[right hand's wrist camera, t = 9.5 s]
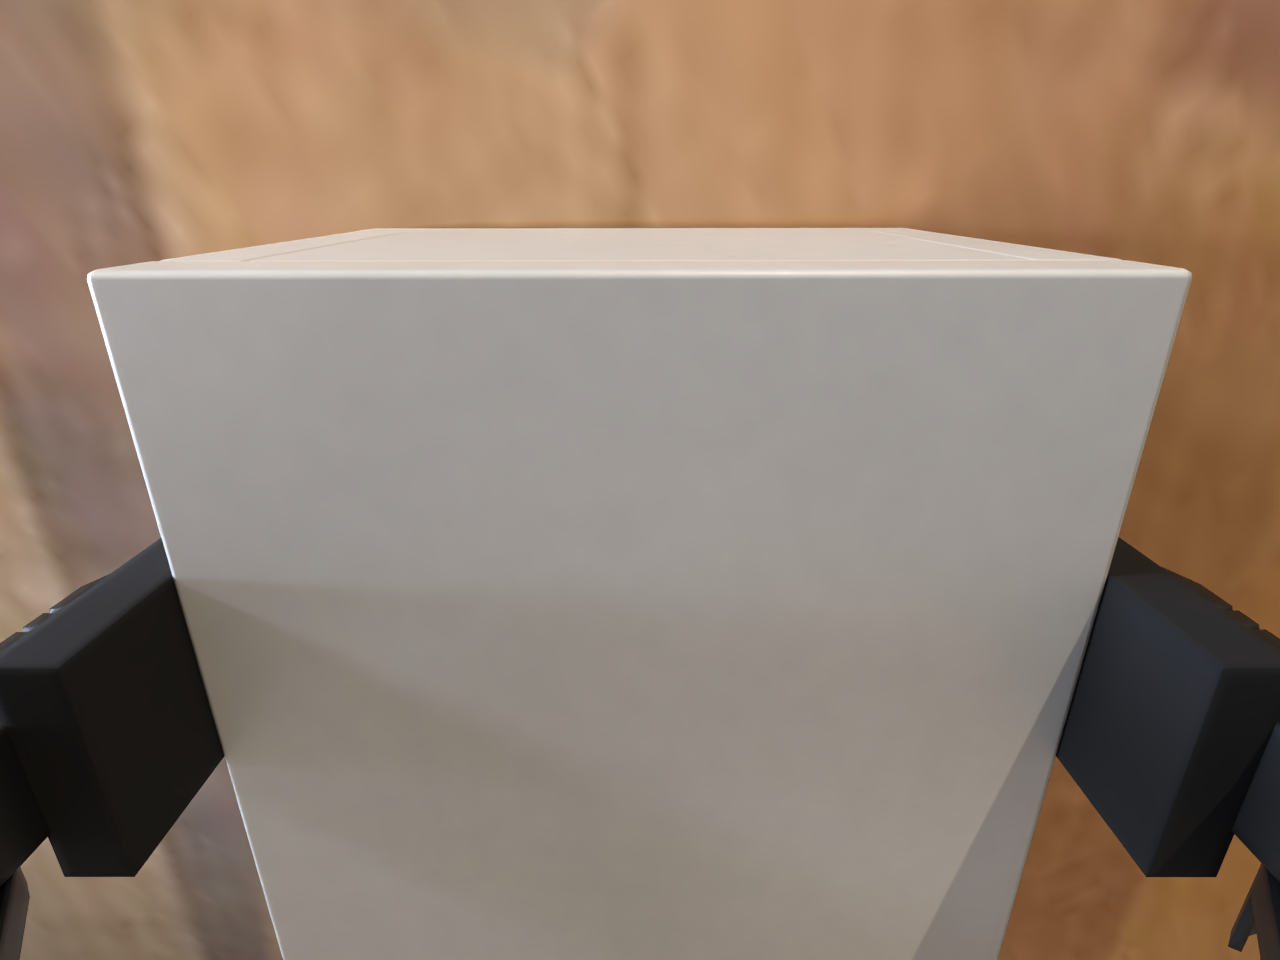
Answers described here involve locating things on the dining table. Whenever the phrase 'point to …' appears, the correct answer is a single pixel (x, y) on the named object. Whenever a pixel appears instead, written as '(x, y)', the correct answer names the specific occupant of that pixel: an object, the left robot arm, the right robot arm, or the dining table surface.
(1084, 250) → the dining table surface
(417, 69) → the dining table surface
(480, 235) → the cabinet
